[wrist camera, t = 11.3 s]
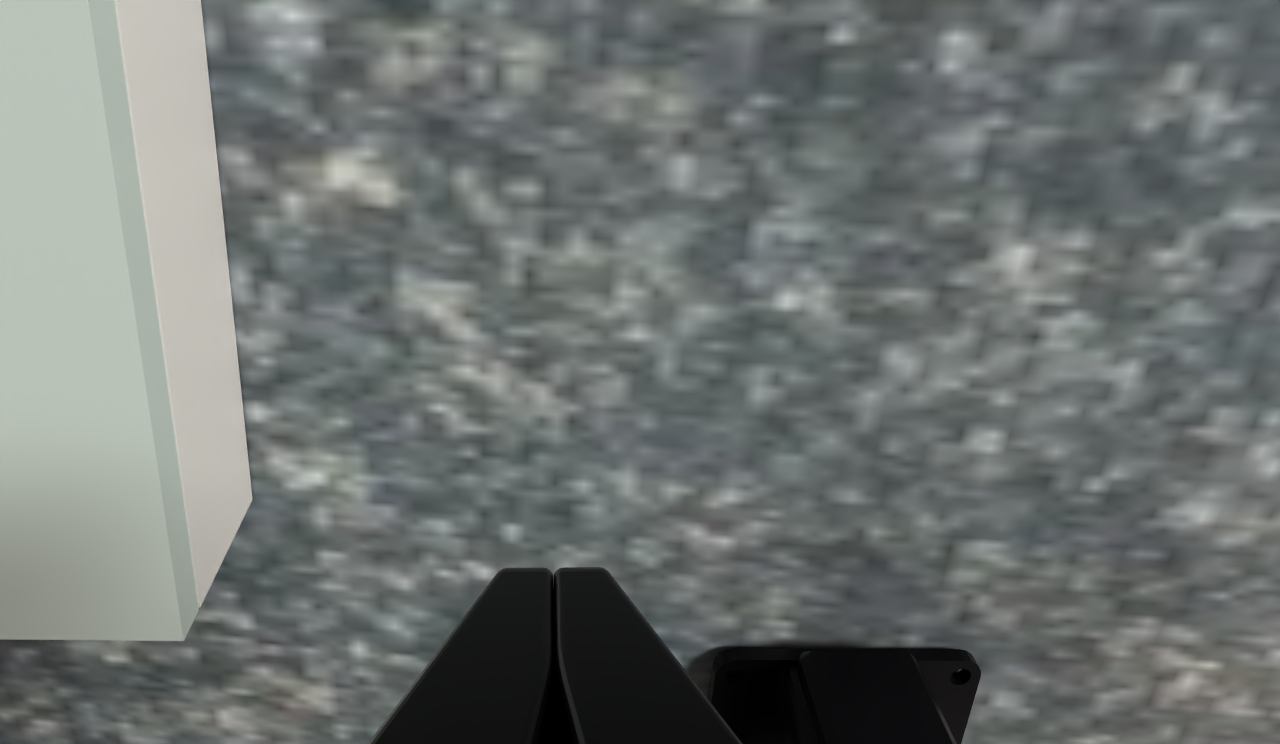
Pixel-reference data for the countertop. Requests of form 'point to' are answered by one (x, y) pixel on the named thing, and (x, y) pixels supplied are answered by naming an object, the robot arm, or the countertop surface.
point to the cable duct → (188, 266)
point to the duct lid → (80, 349)
